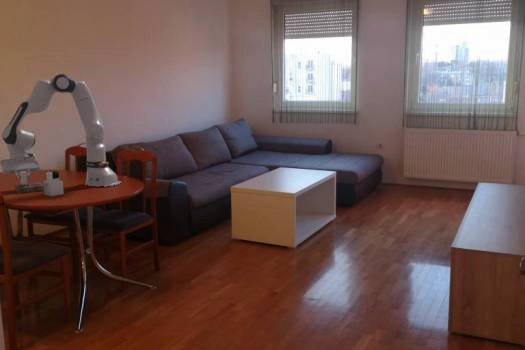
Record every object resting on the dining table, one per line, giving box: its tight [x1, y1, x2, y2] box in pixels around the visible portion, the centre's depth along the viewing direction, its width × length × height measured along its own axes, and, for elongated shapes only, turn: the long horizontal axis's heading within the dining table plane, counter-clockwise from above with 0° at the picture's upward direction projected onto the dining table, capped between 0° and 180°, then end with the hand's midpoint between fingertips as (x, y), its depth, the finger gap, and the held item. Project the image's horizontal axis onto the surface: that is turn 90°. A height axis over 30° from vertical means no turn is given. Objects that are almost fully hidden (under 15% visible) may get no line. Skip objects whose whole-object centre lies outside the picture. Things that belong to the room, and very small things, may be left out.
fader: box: [18, 171, 30, 187], centre depth 306 cm, size 4×5×8 cm
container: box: [42, 170, 64, 197], centre depth 298 cm, size 8×8×13 cm
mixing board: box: [14, 181, 44, 194], centre depth 311 cm, size 20×11×3 cm, turn 126°
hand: (23, 177), depth 306 cm, fingers closed on fader, 3 cm apart
